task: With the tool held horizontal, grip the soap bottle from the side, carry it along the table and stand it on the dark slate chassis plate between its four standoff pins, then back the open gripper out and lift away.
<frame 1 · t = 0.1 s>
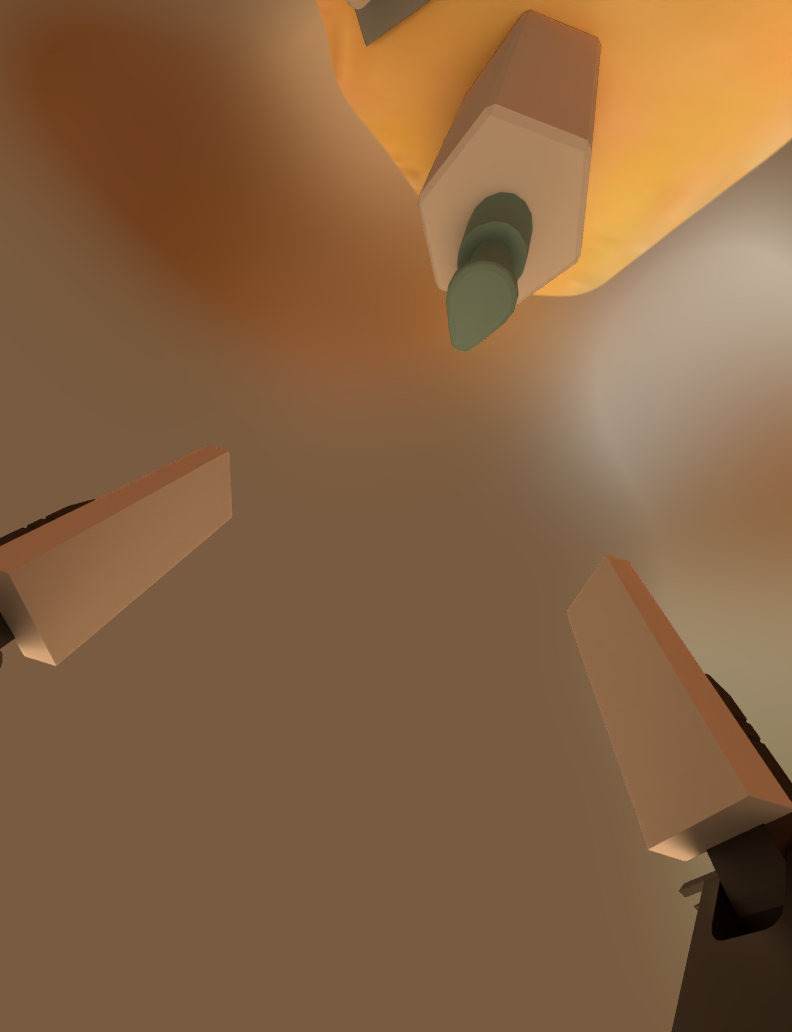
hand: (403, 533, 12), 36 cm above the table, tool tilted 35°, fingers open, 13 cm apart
soap bottle: (528, 120, 27), on the table
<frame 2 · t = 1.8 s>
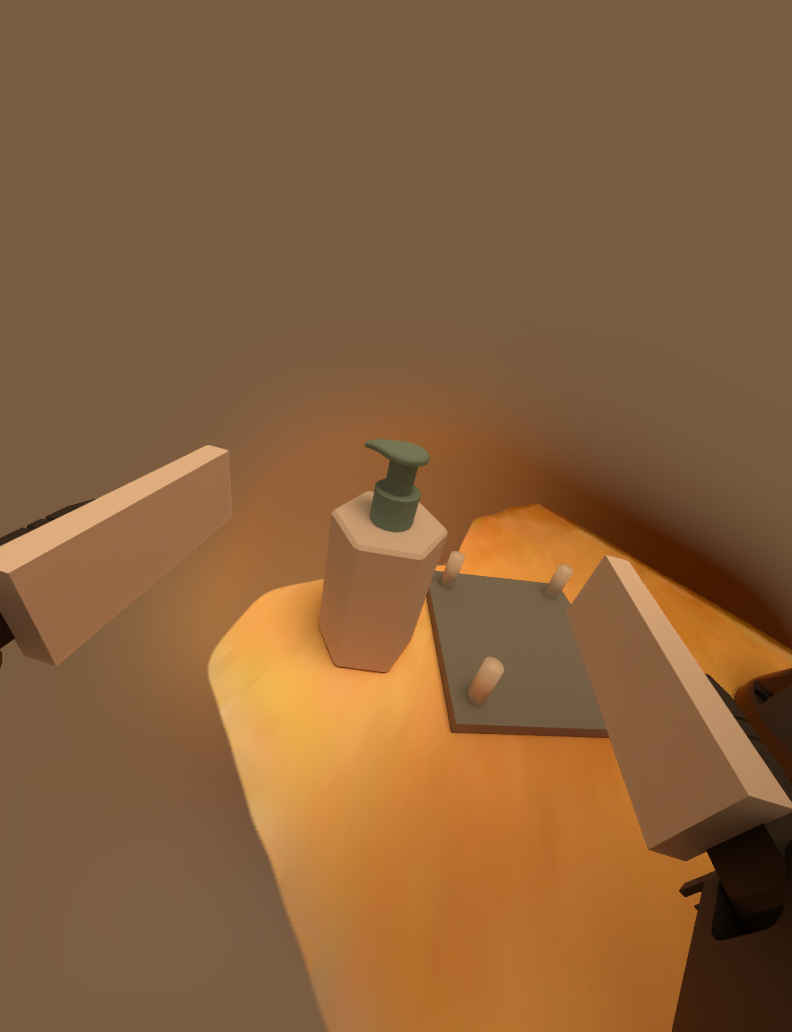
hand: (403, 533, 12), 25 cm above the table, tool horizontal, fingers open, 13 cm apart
chassis plate: (514, 644, 41), on the table
soap bottle: (364, 634, 38), on the table
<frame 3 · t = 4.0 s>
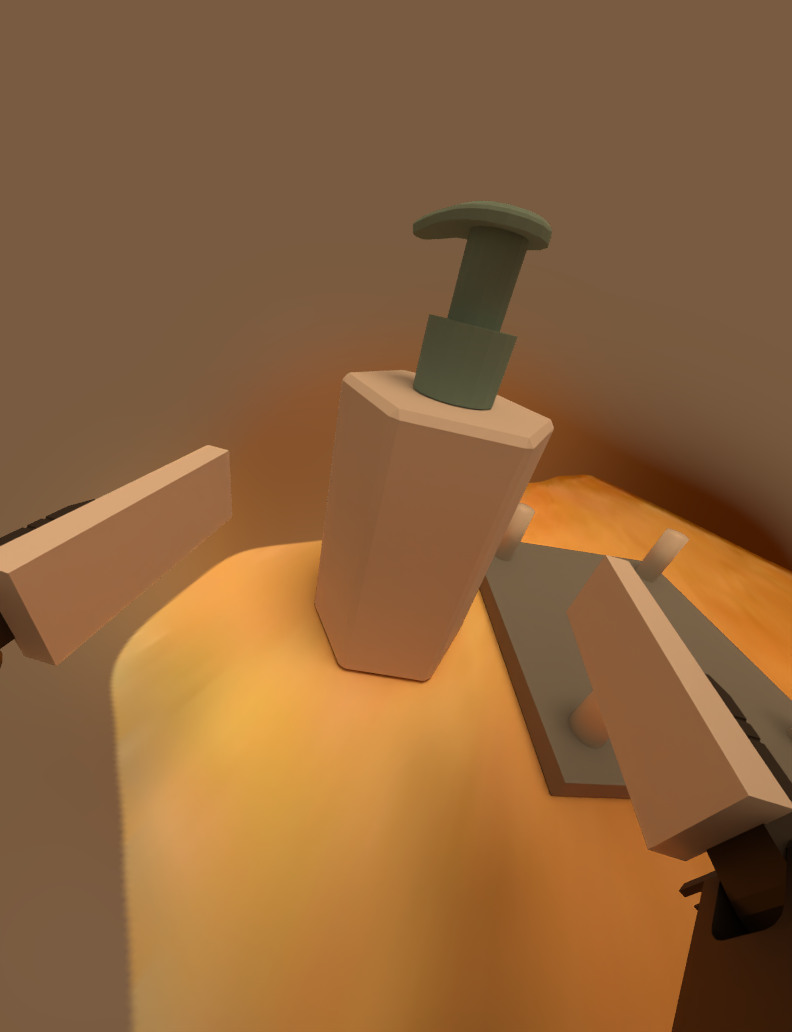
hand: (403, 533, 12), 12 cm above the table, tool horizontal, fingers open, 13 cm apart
chassis plate: (613, 643, 27), on the table
soap bottle: (387, 619, 24), on the table
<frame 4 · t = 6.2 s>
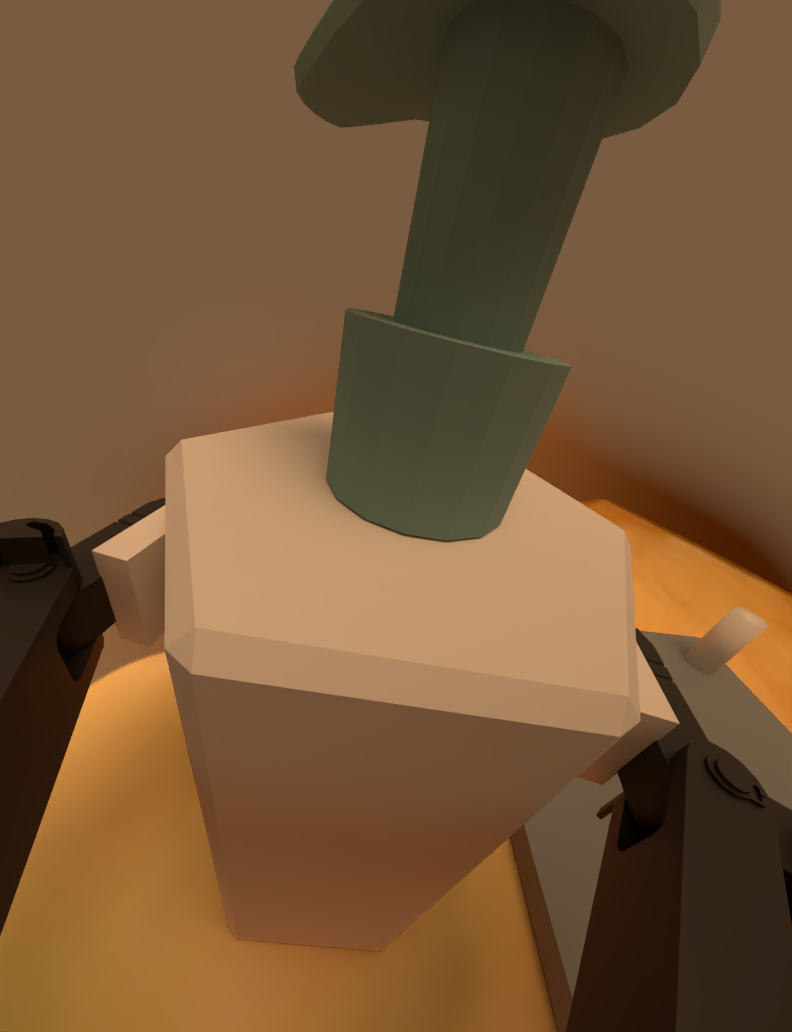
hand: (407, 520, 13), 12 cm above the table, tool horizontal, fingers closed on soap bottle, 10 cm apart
chassis plate: (673, 795, 18), on the table
soap bottle: (333, 787, 16), on the table, touching gripper
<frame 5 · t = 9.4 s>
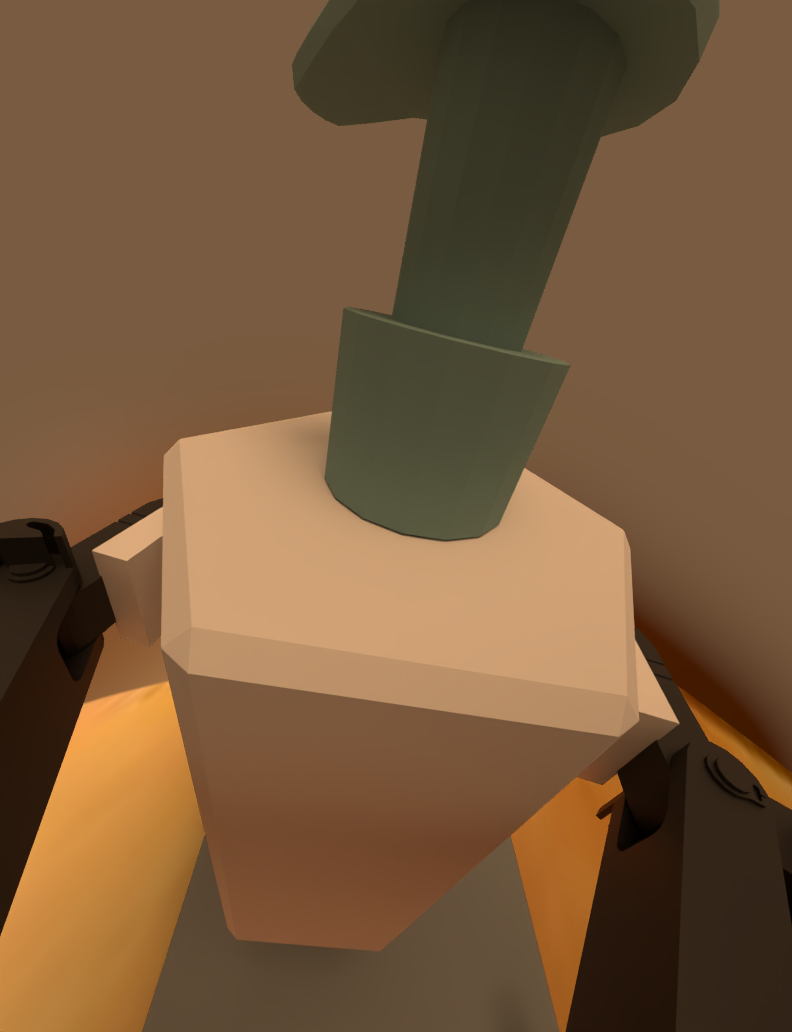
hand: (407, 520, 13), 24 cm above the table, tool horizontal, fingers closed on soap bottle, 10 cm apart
chassis plate: (364, 862, 22), on the table
soap bottle: (332, 787, 16), point 12 cm above the table, touching gripper
when the fingers open (15 cm above the table, at t = 12.5 s): soap bottle drops 1 cm, resting on chassis plate.
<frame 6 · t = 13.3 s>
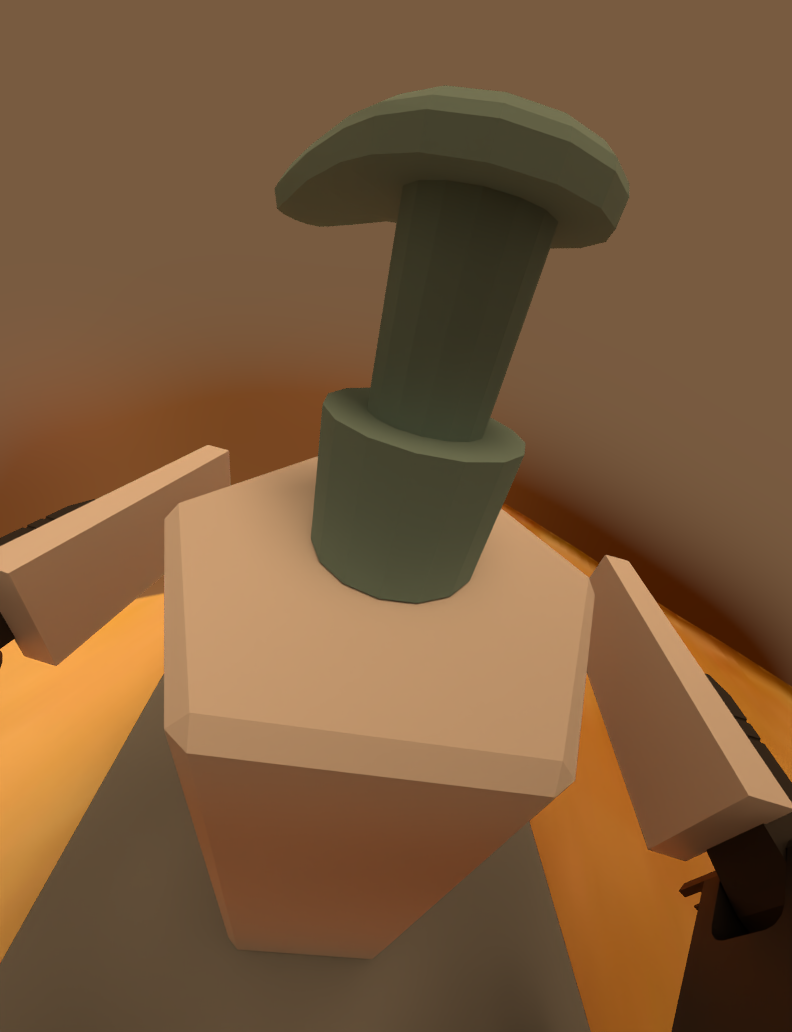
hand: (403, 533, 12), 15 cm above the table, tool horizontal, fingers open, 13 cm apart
chassis plate: (327, 809, 17), on the table
soap bottle: (329, 800, 16), point 1 cm above the table, touching chassis plate
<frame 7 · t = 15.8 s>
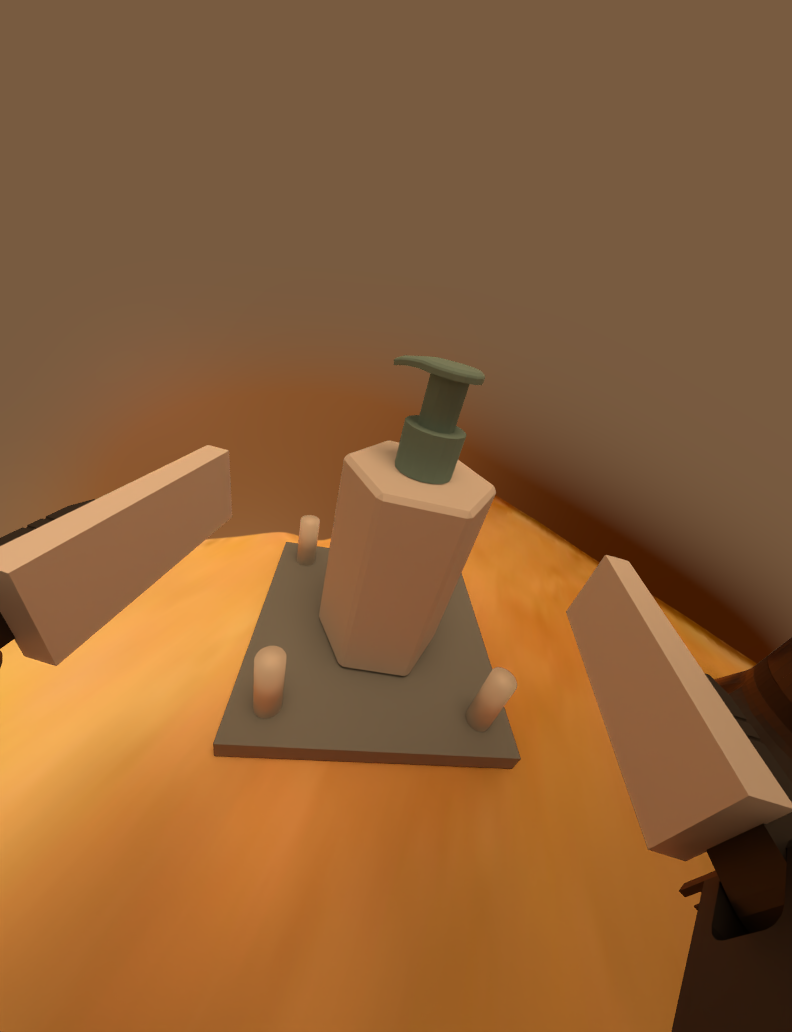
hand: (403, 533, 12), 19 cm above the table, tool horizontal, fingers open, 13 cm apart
chassis plate: (374, 637, 31), on the table
soap bottle: (376, 628, 30), point 1 cm above the table, touching chassis plate
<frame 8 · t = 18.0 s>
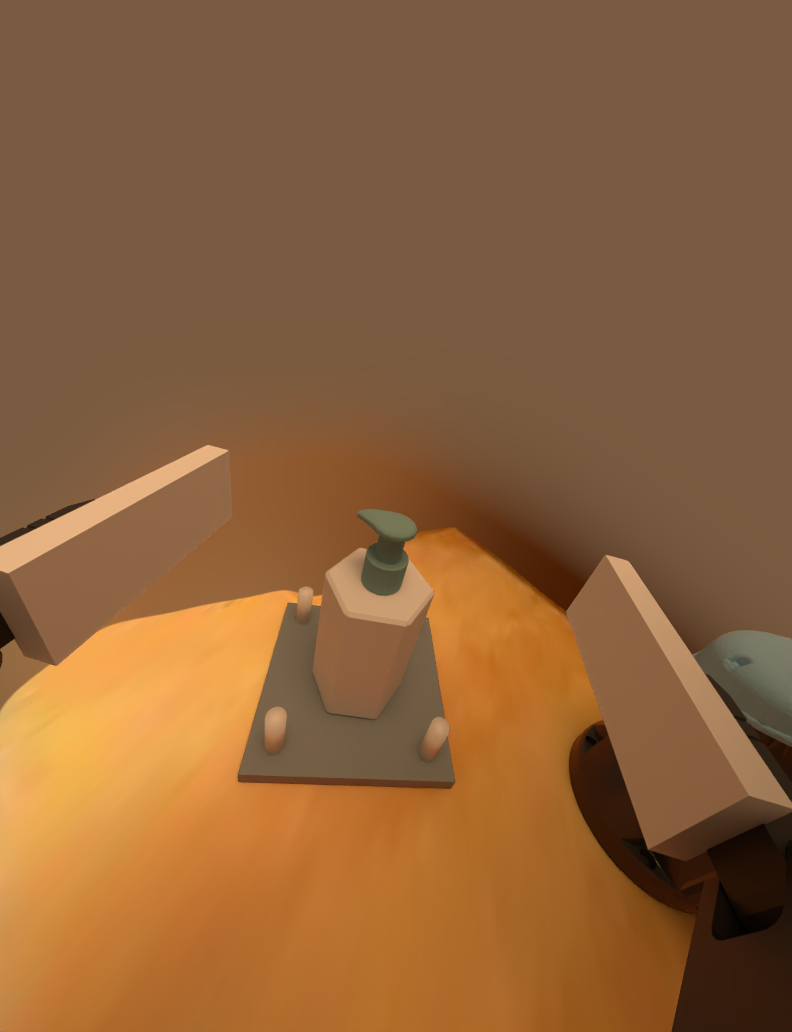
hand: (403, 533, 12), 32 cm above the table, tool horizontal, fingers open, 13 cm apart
chassis plate: (355, 684, 41), on the table
soap bottle: (356, 678, 40), point 1 cm above the table, touching chassis plate
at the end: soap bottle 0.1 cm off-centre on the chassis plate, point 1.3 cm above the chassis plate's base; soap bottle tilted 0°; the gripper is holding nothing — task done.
